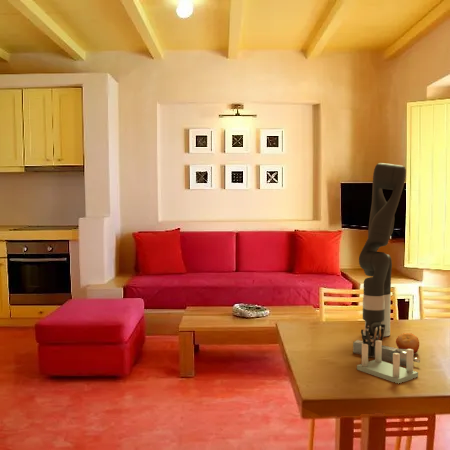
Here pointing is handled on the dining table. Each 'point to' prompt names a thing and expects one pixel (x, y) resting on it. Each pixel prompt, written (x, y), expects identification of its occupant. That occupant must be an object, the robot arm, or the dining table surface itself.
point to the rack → (387, 365)
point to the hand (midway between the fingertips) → (373, 354)
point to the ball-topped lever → (385, 352)
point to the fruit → (408, 342)
